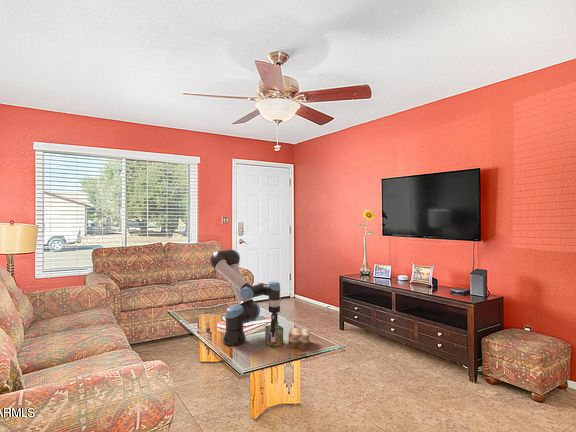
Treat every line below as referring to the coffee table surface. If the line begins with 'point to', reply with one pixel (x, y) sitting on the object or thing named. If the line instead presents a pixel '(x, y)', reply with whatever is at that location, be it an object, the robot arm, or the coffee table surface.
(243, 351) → the coffee table surface
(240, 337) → the robot arm
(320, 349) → the coffee table surface
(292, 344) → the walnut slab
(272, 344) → the chalk box
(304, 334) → the birch slab
